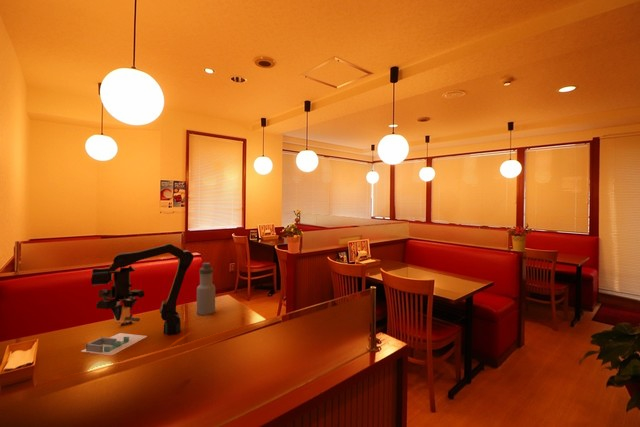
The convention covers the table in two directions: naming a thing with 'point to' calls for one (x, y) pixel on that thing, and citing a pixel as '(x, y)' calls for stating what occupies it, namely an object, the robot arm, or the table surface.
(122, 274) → the robot arm
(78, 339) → the table surface
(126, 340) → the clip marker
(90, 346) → the end holder
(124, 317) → the block
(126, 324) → the valve
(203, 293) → the water bottle
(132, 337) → the board
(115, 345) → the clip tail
